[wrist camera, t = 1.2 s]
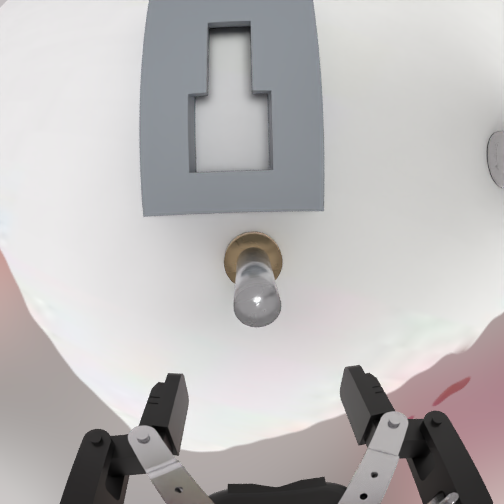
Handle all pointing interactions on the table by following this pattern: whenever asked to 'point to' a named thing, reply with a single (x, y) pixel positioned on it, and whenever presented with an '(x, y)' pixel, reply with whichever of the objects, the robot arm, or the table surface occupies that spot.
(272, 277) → the steel peg
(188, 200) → the keyhole plate
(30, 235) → the table surface
